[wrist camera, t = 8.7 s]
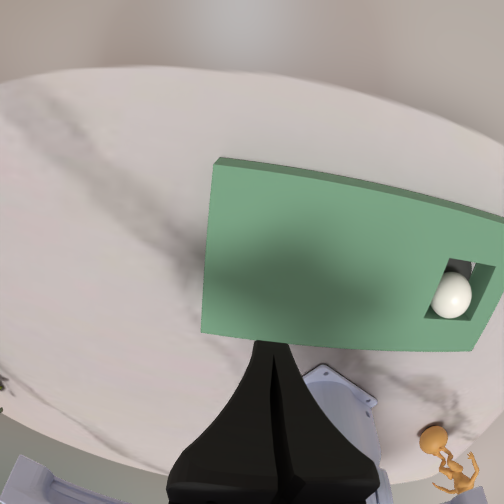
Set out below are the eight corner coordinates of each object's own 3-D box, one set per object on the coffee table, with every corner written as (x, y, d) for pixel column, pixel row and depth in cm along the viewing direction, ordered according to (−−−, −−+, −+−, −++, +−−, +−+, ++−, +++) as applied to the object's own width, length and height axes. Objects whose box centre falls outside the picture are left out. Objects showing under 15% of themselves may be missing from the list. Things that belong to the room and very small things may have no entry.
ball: (459, 289, 23) (479, 315, 20) (424, 306, 24) (441, 334, 21) (457, 256, 21) (479, 281, 18) (419, 273, 22) (438, 302, 19)
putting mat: (510, 220, 20) (527, 231, 18) (460, 334, 25) (471, 351, 23) (219, 157, 20) (213, 164, 17) (206, 312, 25) (200, 332, 23)
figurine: (434, 411, 31) (462, 489, 20) (466, 408, 31) (495, 478, 20) (403, 445, 34) (420, 516, 24) (435, 442, 35) (455, 507, 24)
